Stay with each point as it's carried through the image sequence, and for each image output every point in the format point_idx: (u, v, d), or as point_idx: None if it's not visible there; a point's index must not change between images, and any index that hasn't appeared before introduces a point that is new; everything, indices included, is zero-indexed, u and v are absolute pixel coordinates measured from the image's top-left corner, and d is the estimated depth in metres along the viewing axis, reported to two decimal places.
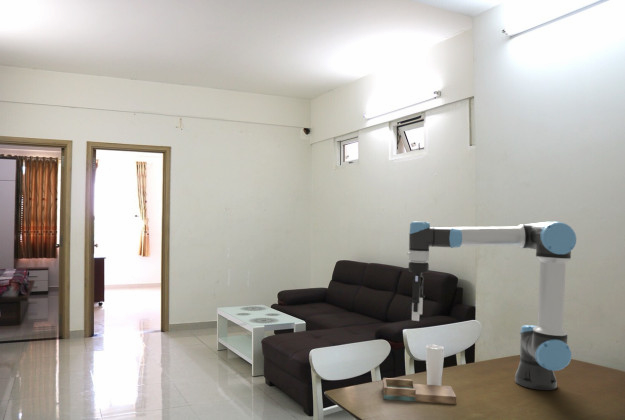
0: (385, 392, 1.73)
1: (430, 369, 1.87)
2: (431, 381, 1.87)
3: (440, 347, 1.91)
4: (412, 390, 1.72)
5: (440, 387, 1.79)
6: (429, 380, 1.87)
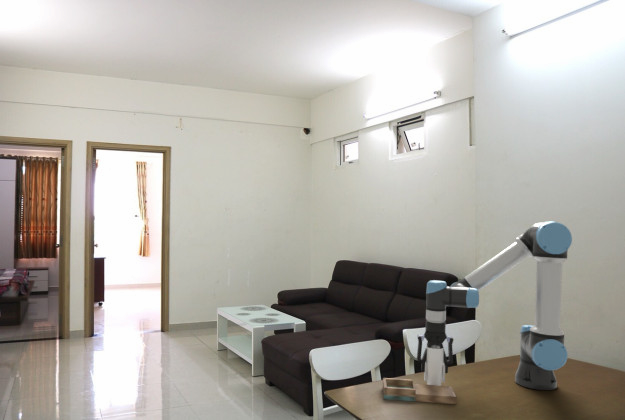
0: (385, 392, 1.73)
1: (430, 369, 1.87)
2: (431, 381, 1.87)
3: None
4: (412, 390, 1.72)
5: (440, 387, 1.79)
6: (429, 380, 1.87)
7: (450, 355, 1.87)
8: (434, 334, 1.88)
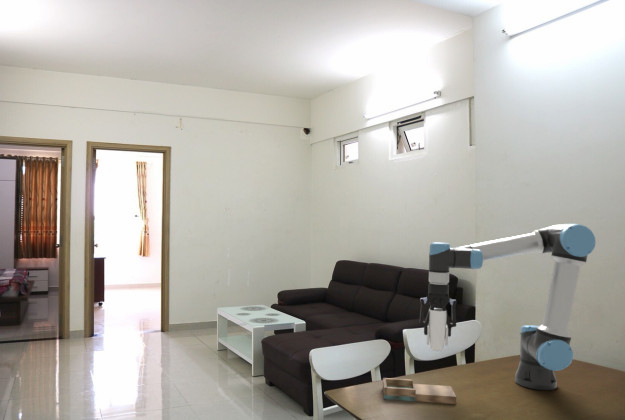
0: (385, 392, 1.73)
1: (432, 332, 1.83)
2: (434, 344, 1.83)
3: None
4: (412, 390, 1.72)
5: (440, 387, 1.79)
6: (432, 343, 1.84)
7: (453, 318, 1.83)
8: (437, 296, 1.84)
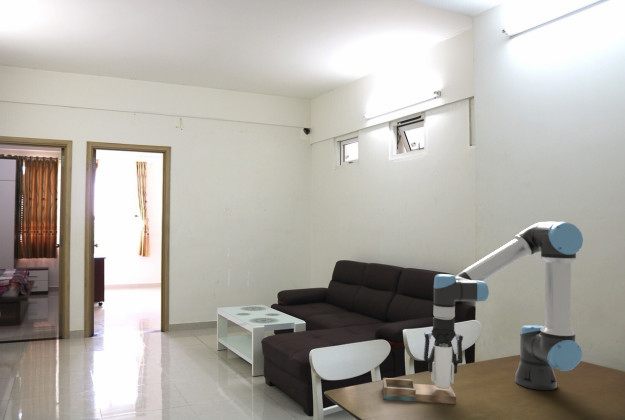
0: (385, 392, 1.73)
1: (438, 369, 1.74)
2: (439, 382, 1.74)
3: None
4: (412, 390, 1.72)
5: None
6: (437, 381, 1.75)
7: (459, 354, 1.75)
8: (442, 331, 1.76)
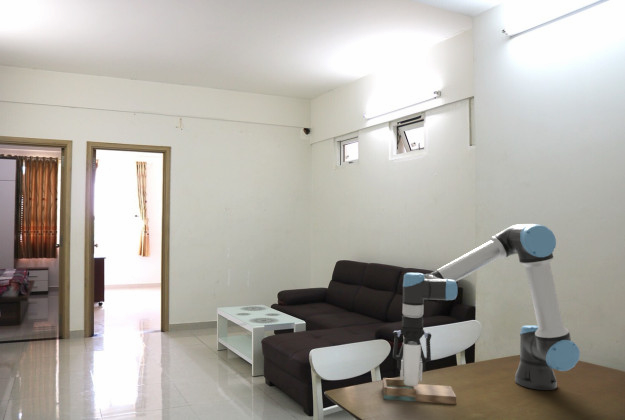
0: (385, 392, 1.73)
1: (406, 367, 1.75)
2: (407, 379, 1.75)
3: None
4: (412, 390, 1.72)
5: (440, 387, 1.79)
6: (405, 378, 1.76)
7: (428, 352, 1.76)
8: (411, 329, 1.77)
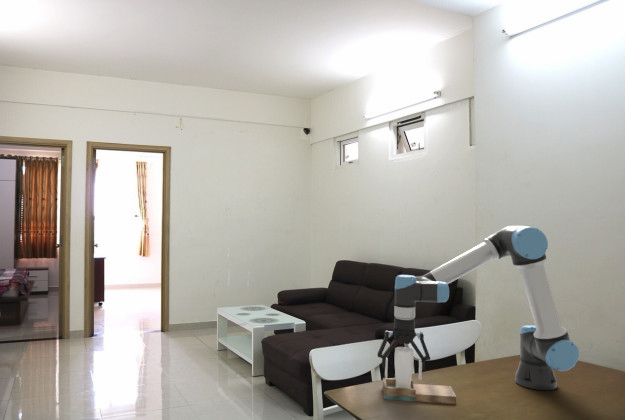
0: (385, 392, 1.73)
1: (398, 373, 1.76)
2: (399, 386, 1.76)
3: (410, 350, 1.80)
4: (412, 390, 1.72)
5: (440, 387, 1.79)
6: (397, 385, 1.76)
7: (425, 351, 1.76)
8: (403, 334, 1.77)
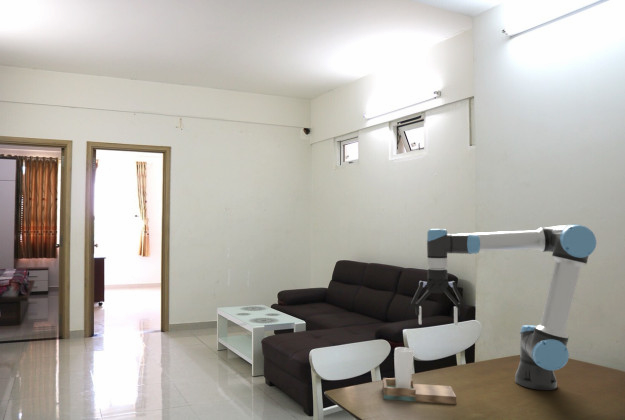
0: (385, 392, 1.73)
1: (398, 373, 1.76)
2: (399, 386, 1.76)
3: (409, 350, 1.80)
4: (412, 390, 1.72)
5: (440, 387, 1.79)
6: (397, 385, 1.76)
7: (459, 298, 1.87)
8: (436, 284, 1.88)
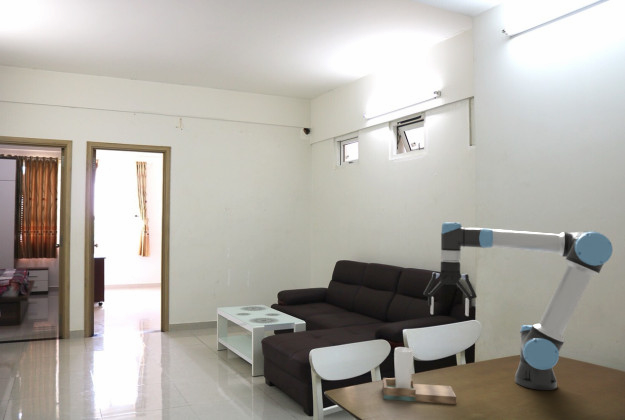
0: (385, 392, 1.73)
1: (398, 373, 1.76)
2: (399, 386, 1.76)
3: (409, 350, 1.80)
4: (412, 390, 1.72)
5: (440, 387, 1.79)
6: (397, 385, 1.76)
7: (471, 290, 1.92)
8: (449, 276, 1.93)
